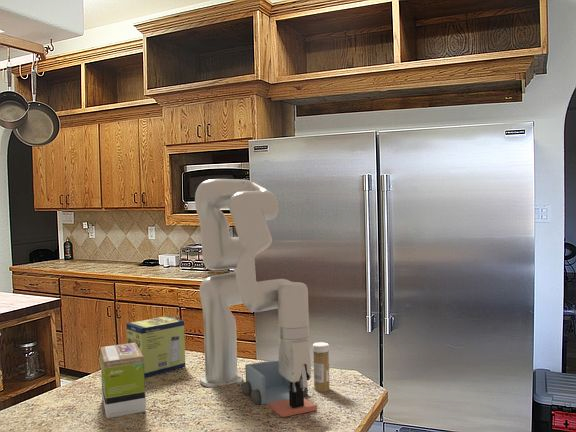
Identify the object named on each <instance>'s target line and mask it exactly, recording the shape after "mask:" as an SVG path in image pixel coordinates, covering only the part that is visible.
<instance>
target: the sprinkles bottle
mask: <svg viewBox="0 0 576 432" xmlns="http://www.w3.org/2000/svg"><path fill="white" fill-rule="evenodd" d="M329 351H330V344H329V343H327V342H323V341H319V342H314V343H313V344H312V352H313V361H312V362H313V367H312V368H313V382H314V384H313V387H314V388H313V389H314V391H315V392H318V393H326V392H329V391H330V363H329V361H330V360H329V359H330V358H329Z"/></svg>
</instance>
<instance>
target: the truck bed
mask: <svg viewBox="0 0 576 432" xmlns="http://www.w3.org/2000/svg"><path fill="white" fill-rule="evenodd" d="M244 367H245V381H243V382H241V392H242V394H244V396H245V397H248V396H250V400H251V402H252V403H253V404H254V405H256V406H257V405H262V406H265V405H268V403H270V402H275V401H280V400H285V399H289V388H288V380H287V379H286V378H284V377H283V376H281V375H280V374H279V369H278V359H273V360H266V361H260V362H254V363H248V364H245V365H244ZM308 393H309V389H308V387H306V388H304V397H305V396H307V395H308Z"/></svg>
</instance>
